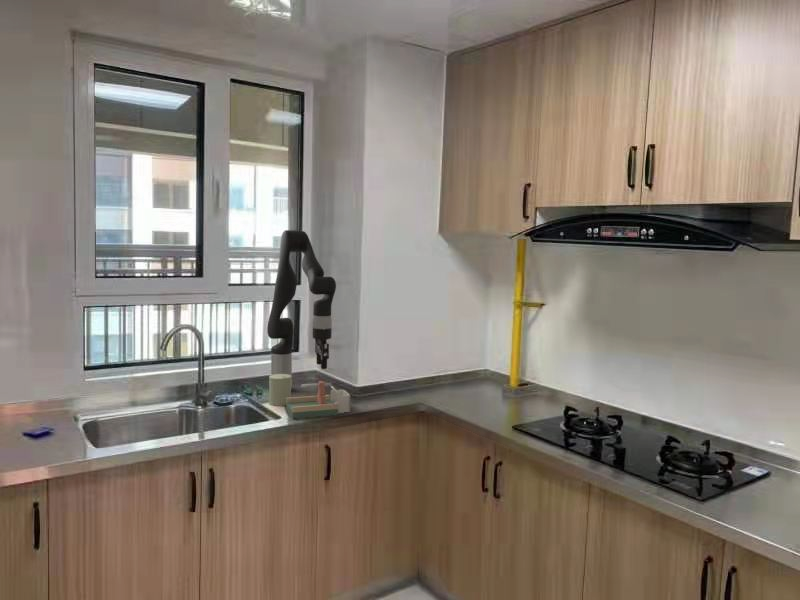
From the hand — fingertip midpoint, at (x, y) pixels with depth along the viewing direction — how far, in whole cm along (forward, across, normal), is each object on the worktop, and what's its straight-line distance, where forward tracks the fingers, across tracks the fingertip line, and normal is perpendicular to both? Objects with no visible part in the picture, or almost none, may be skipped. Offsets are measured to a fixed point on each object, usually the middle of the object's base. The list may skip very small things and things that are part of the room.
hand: (321, 366), depth 246 cm
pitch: (+18, 0, -4) cm, 19 cm away
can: (+19, -17, -14) cm, 29 cm away
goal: (+18, 0, +8) cm, 20 cm away
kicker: (+15, 0, -2) cm, 16 cm away
